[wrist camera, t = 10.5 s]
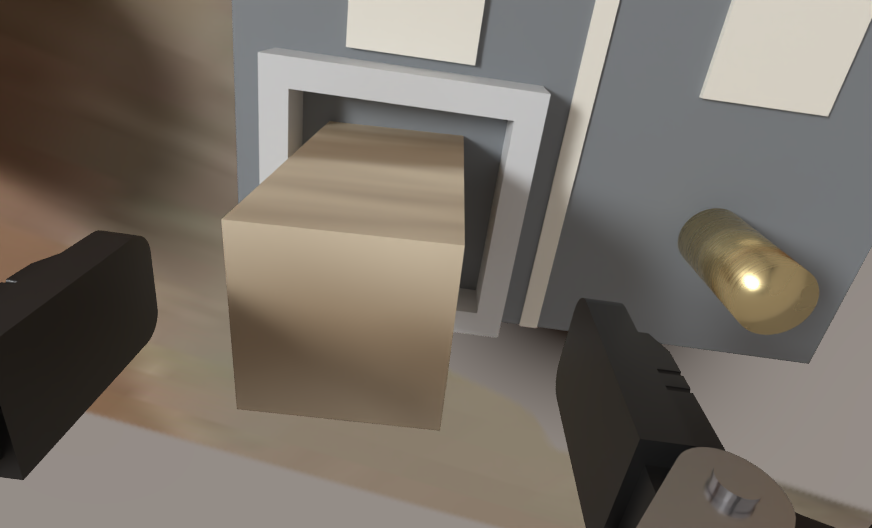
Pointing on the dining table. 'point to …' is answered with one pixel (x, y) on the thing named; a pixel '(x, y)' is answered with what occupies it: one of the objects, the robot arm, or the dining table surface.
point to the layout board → (594, 140)
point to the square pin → (349, 277)
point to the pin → (748, 272)
